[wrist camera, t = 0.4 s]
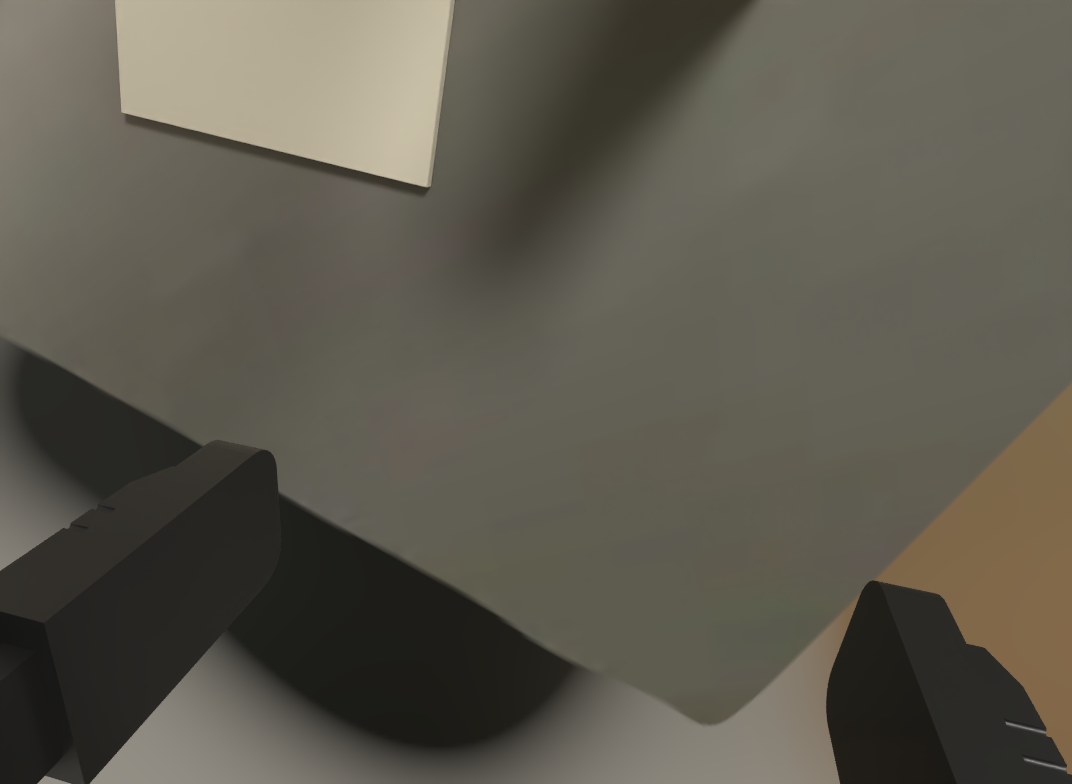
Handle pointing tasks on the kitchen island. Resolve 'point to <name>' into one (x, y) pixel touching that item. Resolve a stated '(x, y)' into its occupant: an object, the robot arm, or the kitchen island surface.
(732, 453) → the kitchen island surface
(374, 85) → the mat
